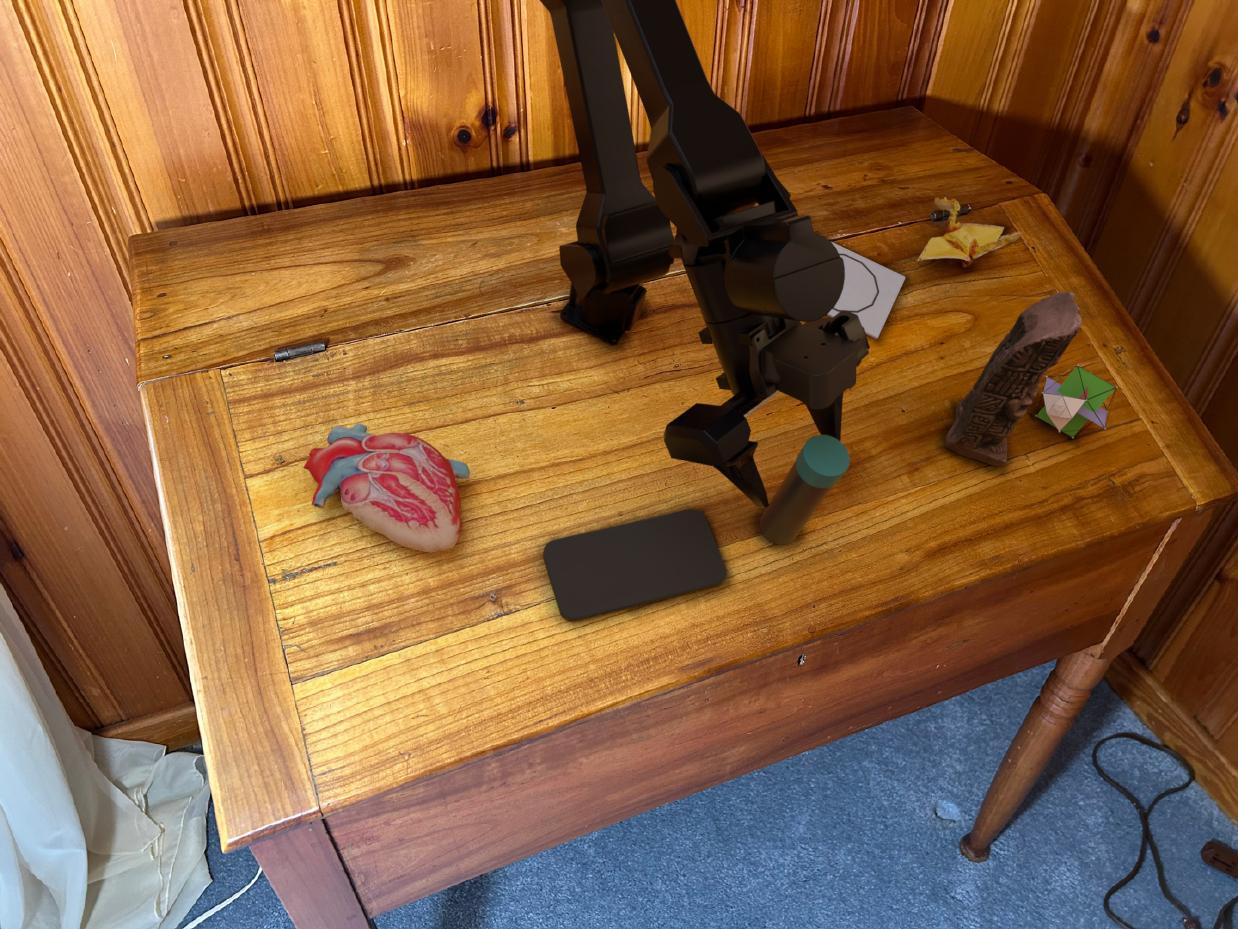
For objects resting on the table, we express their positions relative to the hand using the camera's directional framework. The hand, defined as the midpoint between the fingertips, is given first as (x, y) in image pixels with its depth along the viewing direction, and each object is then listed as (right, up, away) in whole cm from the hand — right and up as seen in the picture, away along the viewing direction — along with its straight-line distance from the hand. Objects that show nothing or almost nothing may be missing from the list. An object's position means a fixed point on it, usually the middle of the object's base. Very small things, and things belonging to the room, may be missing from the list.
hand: (800, 476), depth 77 cm
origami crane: (+23, +25, +28) cm, 44 cm away
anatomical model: (-35, -2, +3) cm, 35 cm away
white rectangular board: (+9, +20, +23) cm, 32 cm away
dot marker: (-1, -5, +7) cm, 8 cm away
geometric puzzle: (+30, +5, +18) cm, 36 cm away
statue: (+20, +4, +16) cm, 26 cm away
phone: (-14, -8, +3) cm, 16 cm away
